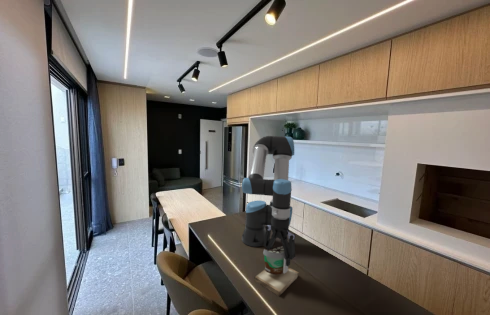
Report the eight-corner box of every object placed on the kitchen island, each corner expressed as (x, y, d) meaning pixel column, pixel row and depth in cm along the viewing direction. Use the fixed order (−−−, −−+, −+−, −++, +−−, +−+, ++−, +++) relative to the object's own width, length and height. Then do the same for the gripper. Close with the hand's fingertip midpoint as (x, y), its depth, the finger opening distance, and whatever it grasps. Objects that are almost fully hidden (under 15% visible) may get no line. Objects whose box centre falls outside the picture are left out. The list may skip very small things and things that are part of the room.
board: (254, 281, 85) (254, 276, 85) (275, 264, 97) (275, 260, 97) (279, 296, 77) (279, 291, 77) (298, 276, 89) (298, 272, 89)
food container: (270, 280, 81) (271, 256, 80) (262, 271, 87) (263, 249, 86) (293, 271, 87) (295, 249, 86) (284, 263, 92) (285, 242, 92)
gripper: (256, 212, 89) (254, 261, 91) (298, 226, 76) (294, 283, 78) (266, 208, 94) (264, 254, 96) (306, 220, 81) (303, 274, 83)
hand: (277, 267), depth 87 cm, fingers closed on food container, 7 cm apart
